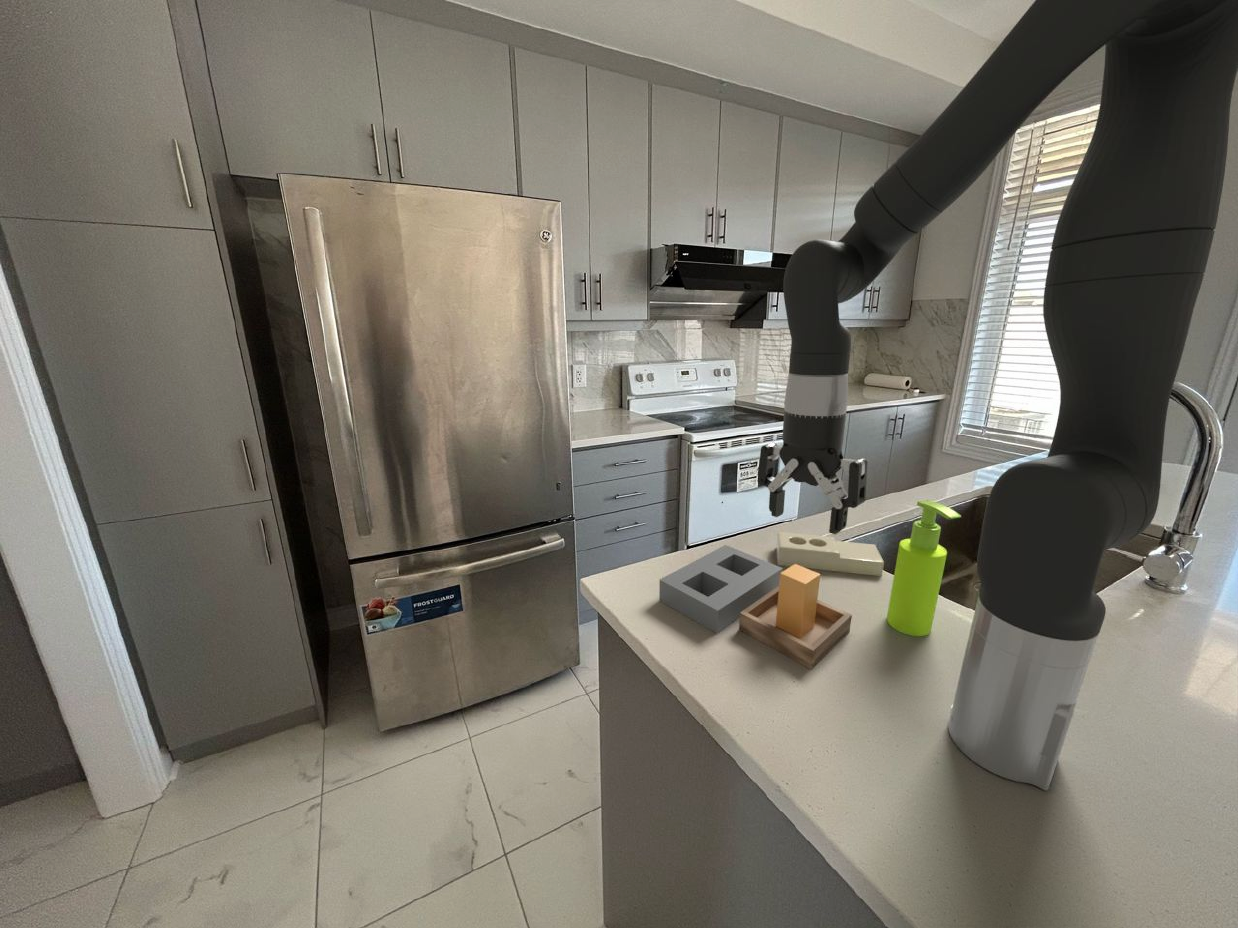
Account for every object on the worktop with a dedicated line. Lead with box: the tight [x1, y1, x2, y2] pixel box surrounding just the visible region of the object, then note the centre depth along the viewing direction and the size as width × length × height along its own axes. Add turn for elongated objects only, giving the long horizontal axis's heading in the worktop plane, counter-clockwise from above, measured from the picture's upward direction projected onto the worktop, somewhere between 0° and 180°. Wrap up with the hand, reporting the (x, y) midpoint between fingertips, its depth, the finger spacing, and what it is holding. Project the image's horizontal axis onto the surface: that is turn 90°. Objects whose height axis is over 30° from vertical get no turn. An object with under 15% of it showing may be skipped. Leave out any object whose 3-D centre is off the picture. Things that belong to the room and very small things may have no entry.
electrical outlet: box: [775, 531, 885, 577], centre depth 92 cm, size 7×4×18 cm
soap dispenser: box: [886, 500, 962, 637], centre depth 70 cm, size 6×7×20 cm
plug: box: [776, 564, 821, 638], centre depth 71 cm, size 4×4×9 cm
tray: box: [738, 586, 853, 670], centre depth 72 cm, size 12×12×3 cm
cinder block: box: [658, 544, 784, 634], centre depth 81 cm, size 12×18×4 cm, turn 131°
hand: (804, 523), depth 67 cm, fingers open, 8 cm apart
